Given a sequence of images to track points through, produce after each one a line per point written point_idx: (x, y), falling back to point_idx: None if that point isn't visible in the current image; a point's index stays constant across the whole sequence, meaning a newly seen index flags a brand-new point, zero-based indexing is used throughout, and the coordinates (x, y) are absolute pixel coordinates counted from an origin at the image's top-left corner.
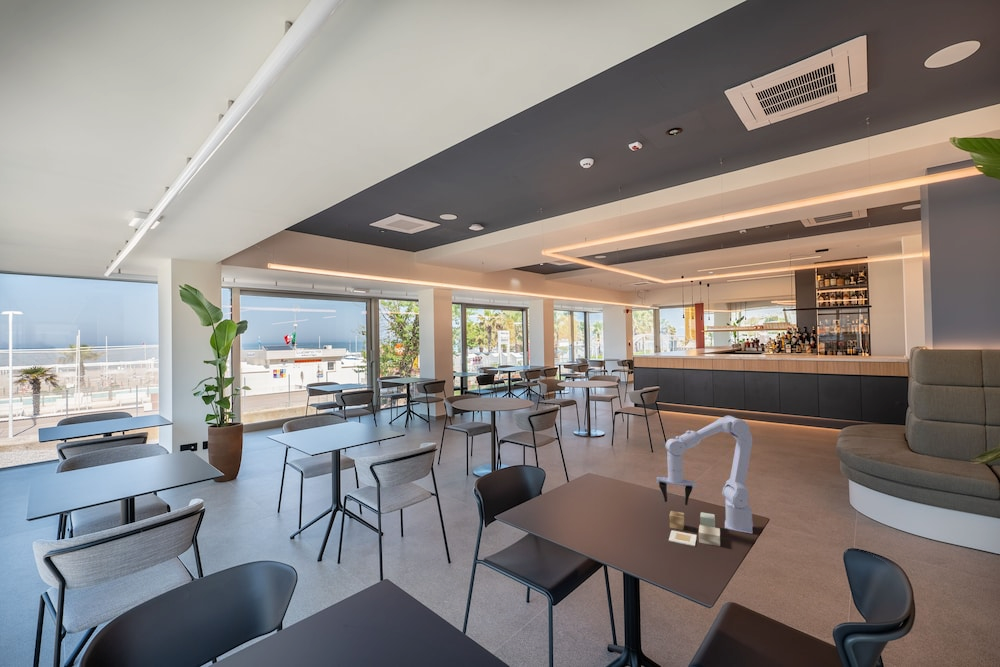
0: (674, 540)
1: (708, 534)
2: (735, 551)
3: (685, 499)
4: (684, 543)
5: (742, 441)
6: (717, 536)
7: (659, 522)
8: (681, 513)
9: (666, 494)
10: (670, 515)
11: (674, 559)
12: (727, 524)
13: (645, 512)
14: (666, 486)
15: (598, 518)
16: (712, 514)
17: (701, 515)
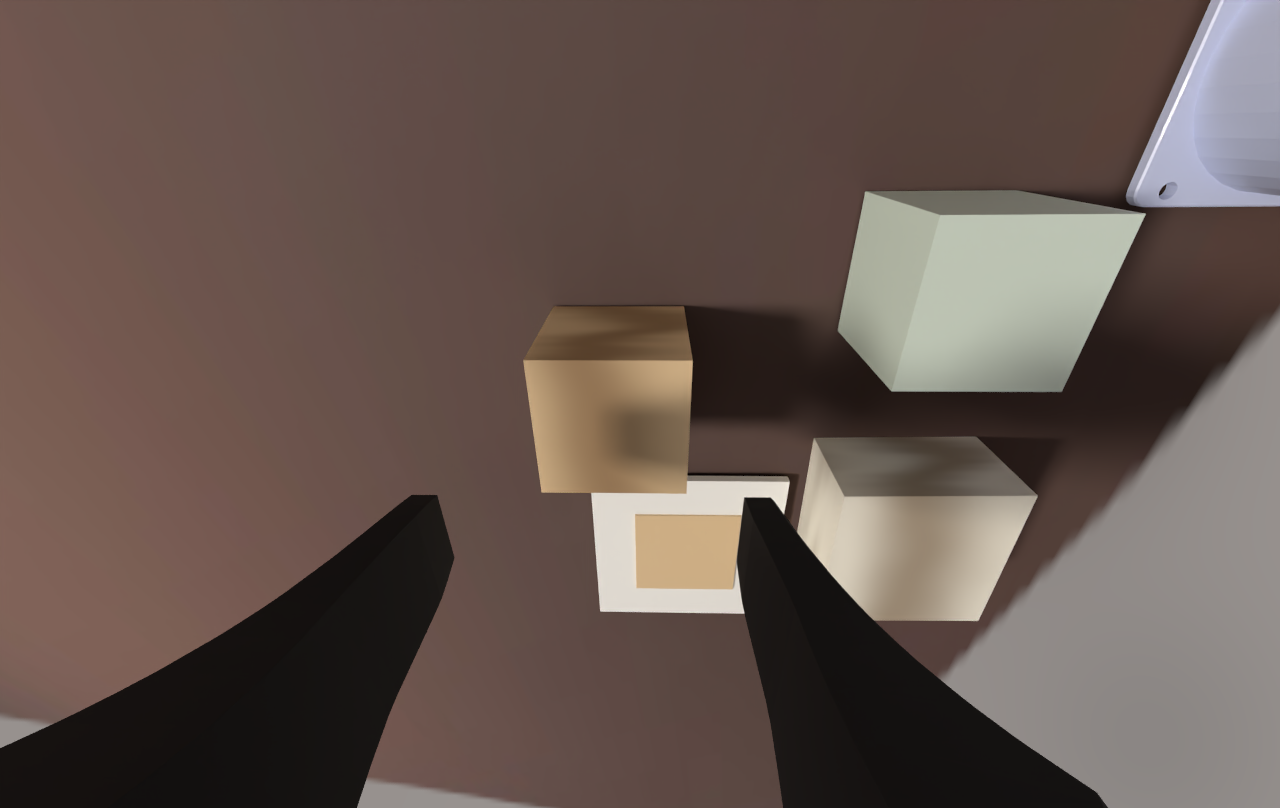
0: (636, 605)
1: (890, 617)
2: (1022, 568)
3: (759, 670)
4: (700, 611)
5: None
6: (956, 615)
7: (449, 337)
8: (663, 385)
9: (383, 616)
10: (553, 488)
11: (658, 725)
12: (1215, 137)
13: (195, 116)
14: (243, 756)
15: (3, 480)
16: (1106, 235)
17: (920, 343)
